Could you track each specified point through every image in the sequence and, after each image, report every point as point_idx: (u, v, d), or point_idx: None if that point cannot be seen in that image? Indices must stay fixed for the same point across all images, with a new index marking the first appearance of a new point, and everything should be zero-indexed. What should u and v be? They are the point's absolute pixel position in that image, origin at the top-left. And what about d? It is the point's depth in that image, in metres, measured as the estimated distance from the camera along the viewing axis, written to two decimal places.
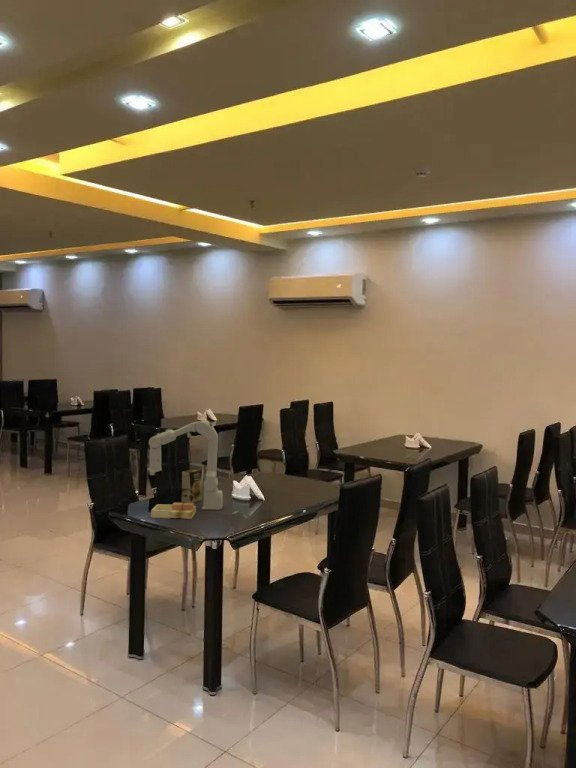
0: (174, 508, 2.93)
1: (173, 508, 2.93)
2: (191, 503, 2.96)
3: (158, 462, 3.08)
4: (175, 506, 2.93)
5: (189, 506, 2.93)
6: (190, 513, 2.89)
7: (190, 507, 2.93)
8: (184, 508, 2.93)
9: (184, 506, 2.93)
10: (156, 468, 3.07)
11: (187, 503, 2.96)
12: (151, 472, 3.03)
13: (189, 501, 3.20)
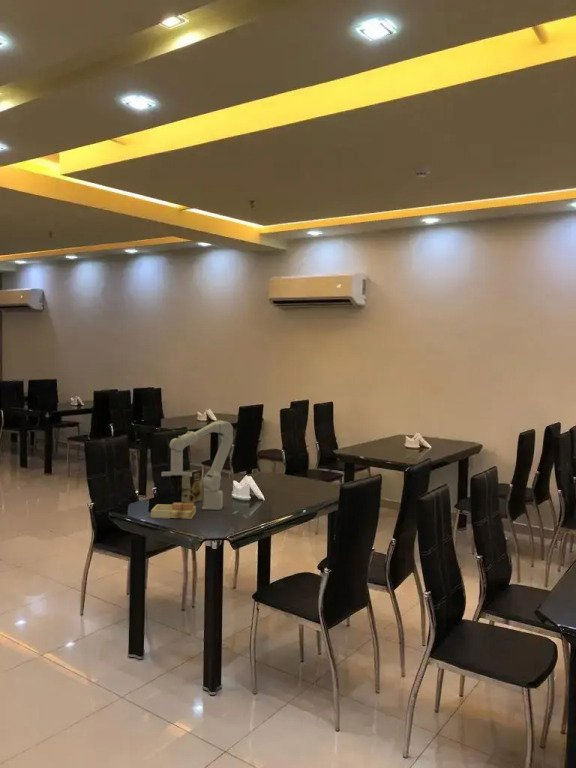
0: (174, 508, 2.93)
1: (173, 508, 2.93)
2: (191, 503, 2.96)
3: (171, 465, 2.99)
4: (175, 506, 2.93)
5: (189, 506, 2.93)
6: (190, 513, 2.89)
7: (190, 507, 2.93)
8: (184, 508, 2.93)
9: (184, 506, 2.93)
10: (171, 471, 3.00)
11: (187, 503, 2.96)
12: None
13: (189, 501, 3.20)
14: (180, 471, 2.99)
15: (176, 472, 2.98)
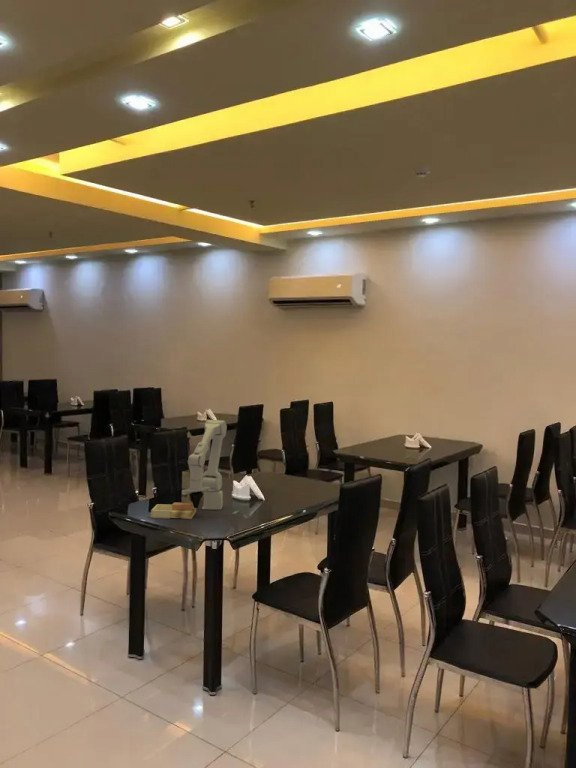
0: (174, 508, 2.93)
1: (173, 508, 2.93)
2: (190, 503, 2.96)
3: (194, 482, 2.92)
4: (175, 506, 2.93)
5: (188, 506, 2.93)
6: (190, 513, 2.89)
7: (189, 507, 2.93)
8: (183, 508, 2.93)
9: (183, 506, 2.93)
10: (192, 488, 2.92)
11: (186, 503, 2.96)
12: (182, 491, 2.90)
13: (189, 501, 3.20)
14: (201, 487, 2.95)
15: (200, 488, 2.93)
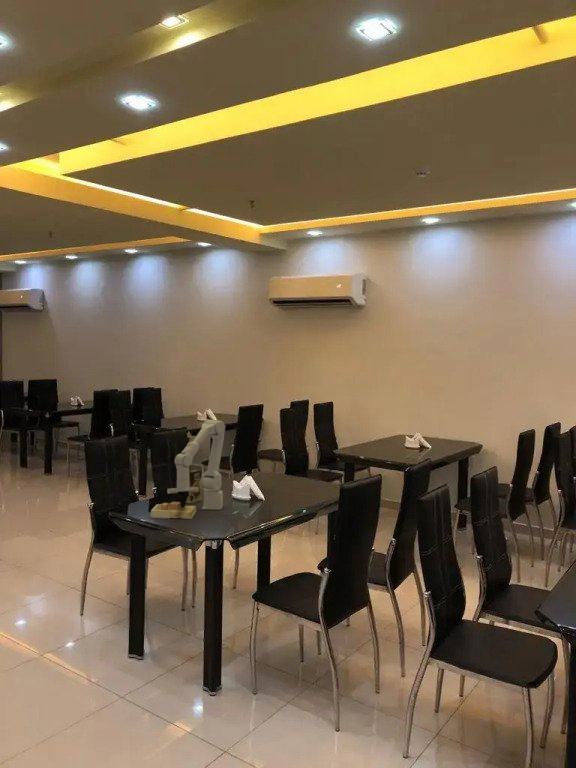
0: None
1: None
2: (178, 502, 2.97)
3: (179, 482, 2.92)
4: None
5: (175, 505, 2.94)
6: (190, 513, 2.89)
7: (176, 506, 2.94)
8: (170, 507, 2.94)
9: (170, 505, 2.94)
10: (178, 487, 2.93)
11: (174, 502, 2.97)
12: (167, 490, 2.92)
13: (189, 501, 3.20)
14: (188, 487, 2.94)
15: (185, 488, 2.92)
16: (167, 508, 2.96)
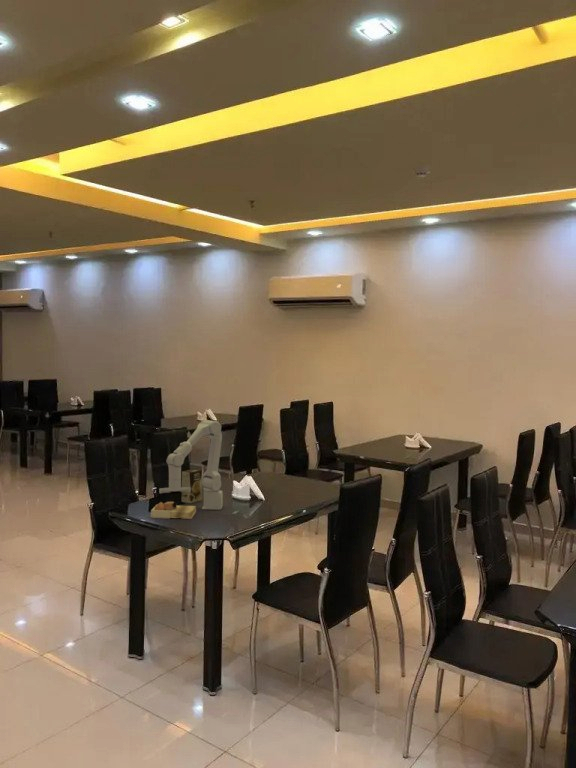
0: None
1: None
2: (173, 502, 2.97)
3: (171, 481, 2.92)
4: None
5: (169, 504, 2.94)
6: (190, 513, 2.89)
7: (170, 506, 2.94)
8: (165, 507, 2.95)
9: (165, 505, 2.95)
10: (169, 487, 2.93)
11: (169, 502, 2.98)
12: (159, 490, 2.93)
13: (189, 501, 3.20)
14: (179, 487, 2.93)
15: (176, 488, 2.92)
16: (162, 506, 2.96)
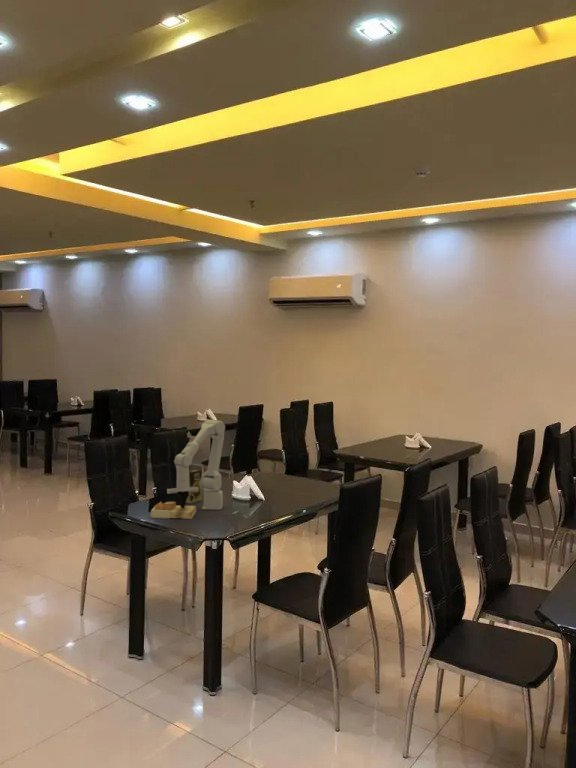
0: None
1: None
2: (172, 502, 2.97)
3: (179, 482, 2.92)
4: None
5: (168, 505, 2.94)
6: (190, 513, 2.89)
7: (170, 506, 2.94)
8: (164, 507, 2.95)
9: (164, 505, 2.95)
10: (177, 488, 2.93)
11: (169, 502, 2.98)
12: (167, 490, 2.92)
13: (189, 501, 3.20)
14: (188, 487, 2.94)
15: (184, 488, 2.92)
16: (162, 506, 2.96)
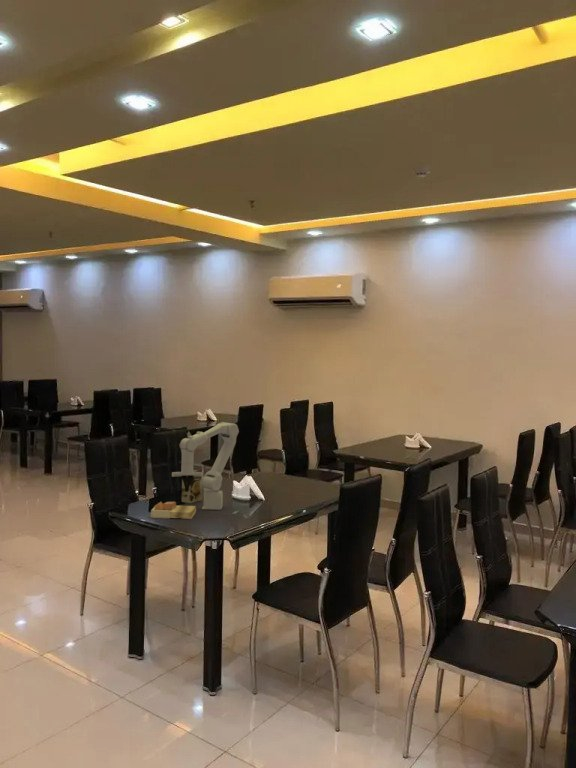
0: None
1: None
2: (172, 502, 2.97)
3: (183, 465, 2.97)
4: None
5: (168, 505, 2.94)
6: (190, 513, 2.89)
7: (170, 506, 2.94)
8: (164, 507, 2.95)
9: (164, 505, 2.95)
10: (182, 471, 2.98)
11: (169, 502, 2.98)
12: None
13: (189, 501, 3.20)
14: (192, 471, 2.98)
15: (188, 472, 2.97)
16: (162, 506, 2.96)
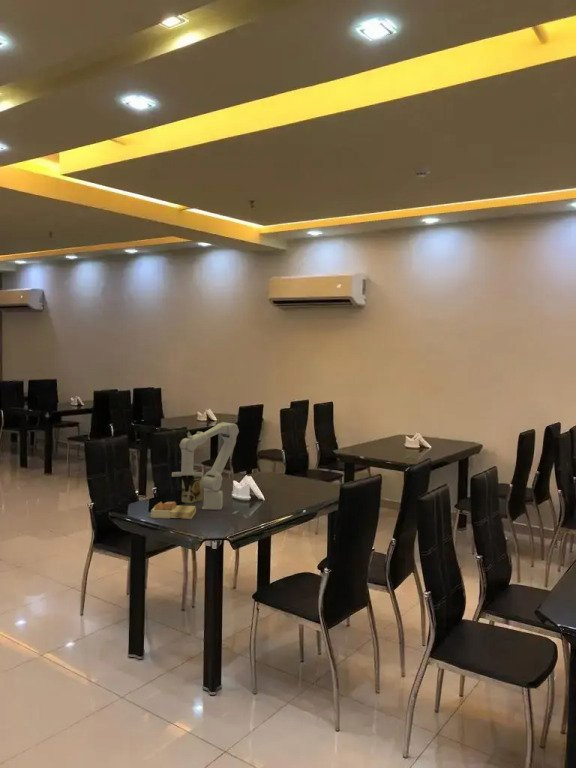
0: None
1: None
2: (172, 502, 2.97)
3: (183, 465, 2.97)
4: None
5: (168, 505, 2.94)
6: (190, 513, 2.89)
7: (170, 506, 2.94)
8: (164, 507, 2.95)
9: (164, 505, 2.95)
10: (182, 471, 2.98)
11: (169, 502, 2.98)
12: None
13: (189, 501, 3.20)
14: (192, 471, 2.98)
15: (188, 472, 2.97)
16: (162, 506, 2.96)
